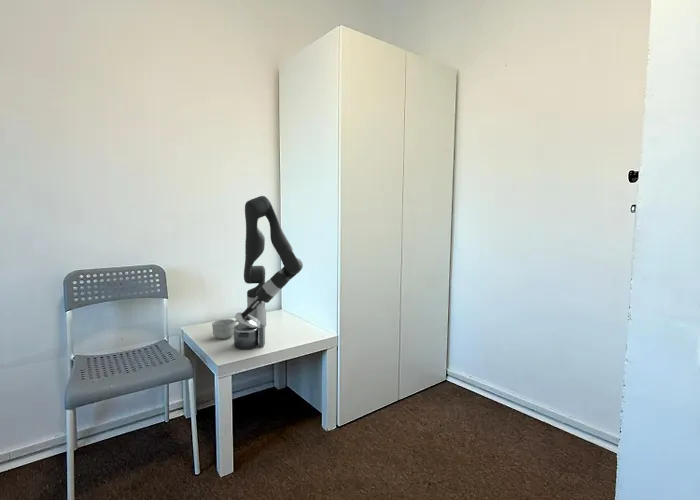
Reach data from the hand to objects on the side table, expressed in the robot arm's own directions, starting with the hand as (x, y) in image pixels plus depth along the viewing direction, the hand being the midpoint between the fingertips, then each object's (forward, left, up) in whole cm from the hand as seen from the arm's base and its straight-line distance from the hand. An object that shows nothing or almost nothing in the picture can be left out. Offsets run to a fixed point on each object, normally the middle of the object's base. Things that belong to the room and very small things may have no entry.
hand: (242, 316), depth 187 cm
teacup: (-6, -15, -14) cm, 22 cm away
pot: (-1, +2, -14) cm, 15 cm away
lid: (-1, +2, -3) cm, 3 cm away
